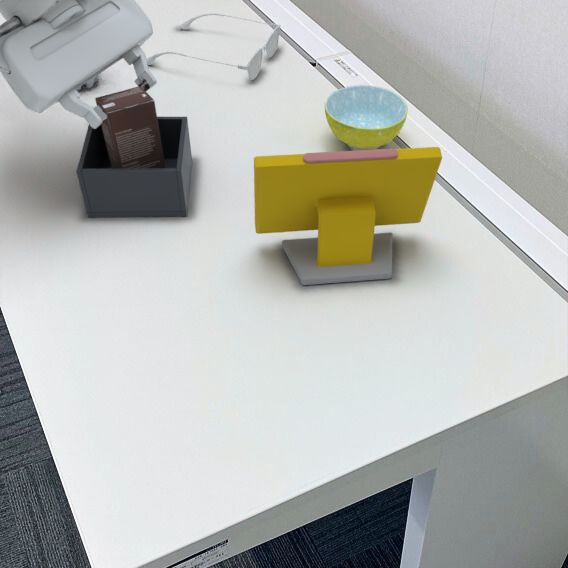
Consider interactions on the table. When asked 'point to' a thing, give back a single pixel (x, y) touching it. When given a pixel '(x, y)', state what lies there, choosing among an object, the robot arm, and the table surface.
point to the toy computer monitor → (342, 207)
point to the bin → (137, 177)
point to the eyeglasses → (255, 60)
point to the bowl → (365, 115)
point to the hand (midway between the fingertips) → (127, 105)
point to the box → (131, 129)
